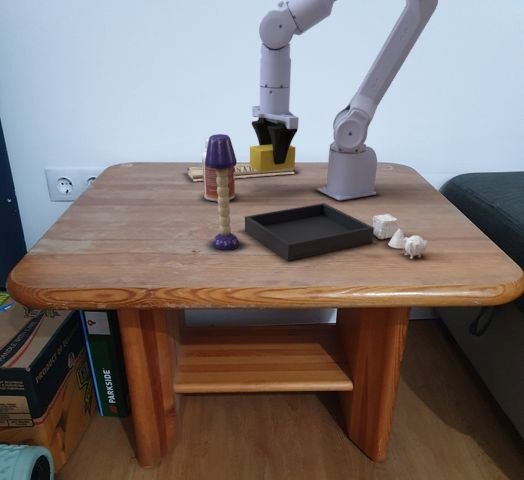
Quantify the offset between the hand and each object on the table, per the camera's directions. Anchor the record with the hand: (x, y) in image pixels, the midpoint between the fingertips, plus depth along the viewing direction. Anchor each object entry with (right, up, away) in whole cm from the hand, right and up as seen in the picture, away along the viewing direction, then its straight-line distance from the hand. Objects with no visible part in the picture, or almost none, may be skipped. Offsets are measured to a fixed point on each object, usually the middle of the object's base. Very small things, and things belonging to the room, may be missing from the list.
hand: (273, 160), depth 107 cm
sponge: (0, -1, +1) cm, 1 cm away
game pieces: (+20, -22, -21) cm, 36 cm away
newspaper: (-7, +2, +14) cm, 16 cm away
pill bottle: (-11, -8, -1) cm, 14 cm away
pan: (+5, -19, -19) cm, 27 cm away
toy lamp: (-8, -22, -22) cm, 32 cm away
